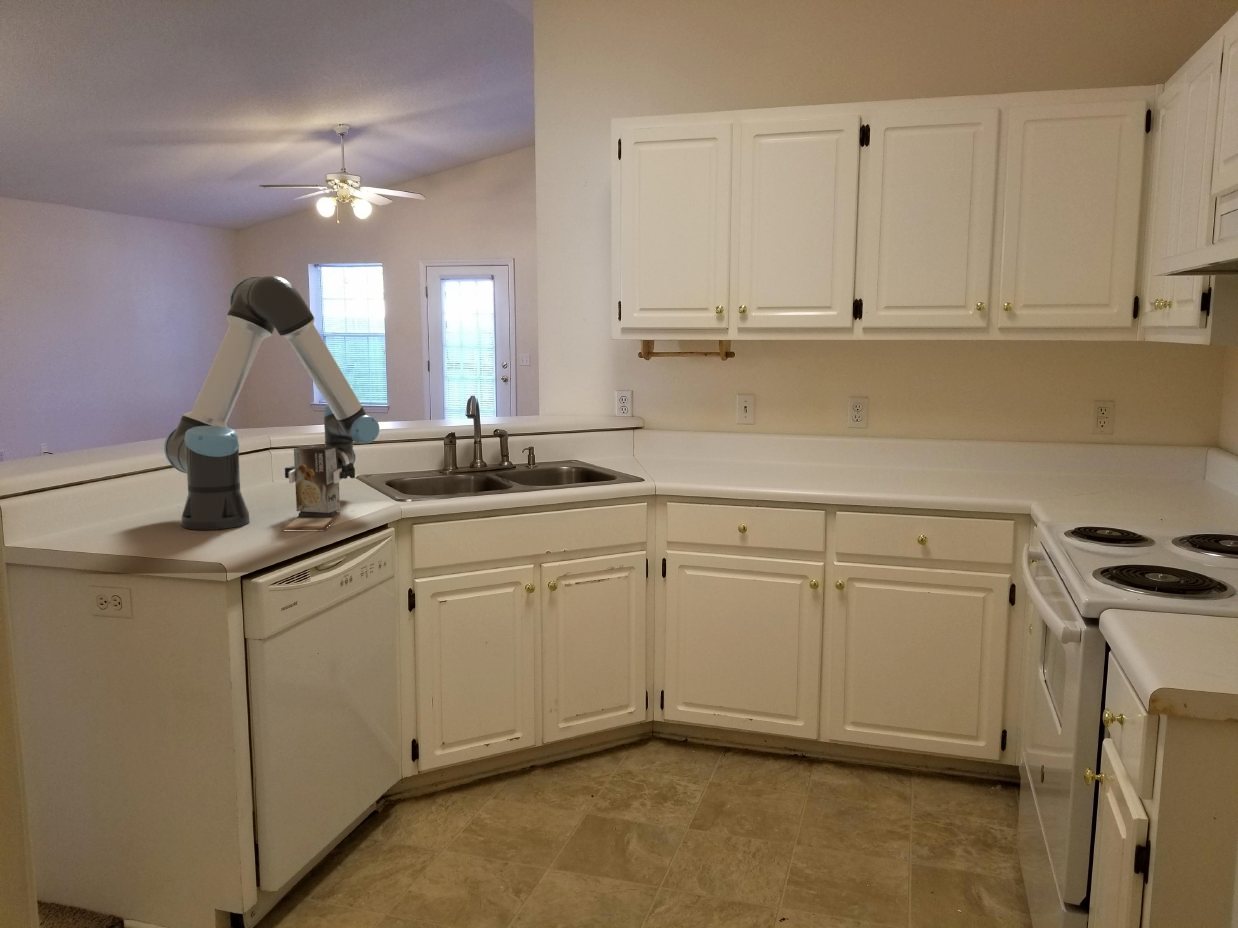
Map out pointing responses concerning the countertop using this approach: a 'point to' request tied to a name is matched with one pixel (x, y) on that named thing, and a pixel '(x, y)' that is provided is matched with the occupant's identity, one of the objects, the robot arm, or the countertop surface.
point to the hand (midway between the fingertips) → (312, 477)
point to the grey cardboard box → (316, 479)
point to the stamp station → (312, 521)
